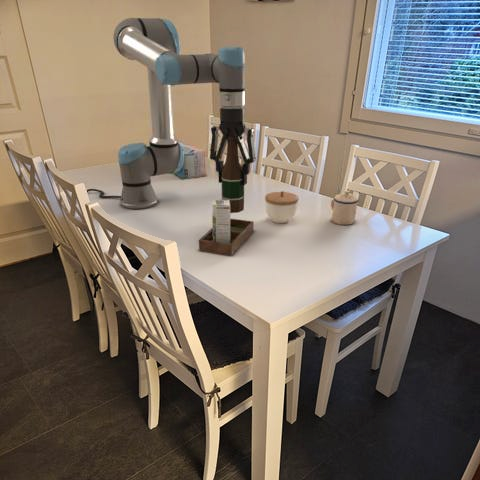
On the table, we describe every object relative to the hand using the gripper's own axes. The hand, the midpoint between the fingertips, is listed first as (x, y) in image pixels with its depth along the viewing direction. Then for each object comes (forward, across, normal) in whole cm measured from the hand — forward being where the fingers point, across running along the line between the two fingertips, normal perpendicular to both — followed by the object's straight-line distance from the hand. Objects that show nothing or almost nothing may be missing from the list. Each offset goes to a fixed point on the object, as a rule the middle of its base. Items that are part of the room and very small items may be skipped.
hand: (232, 182), depth 140 cm
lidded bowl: (+19, +12, +21) cm, 30 cm away
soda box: (+19, -60, +76) cm, 99 cm away
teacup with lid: (+19, +34, +29) cm, 48 cm away
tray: (+19, 0, -5) cm, 19 cm away
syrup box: (+18, 0, -11) cm, 21 cm away
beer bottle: (+9, 0, 0) cm, 9 cm away
